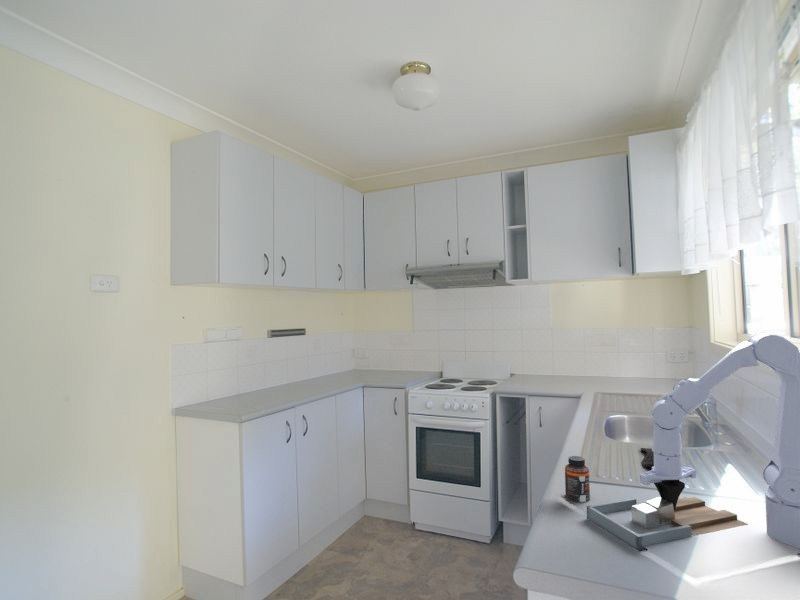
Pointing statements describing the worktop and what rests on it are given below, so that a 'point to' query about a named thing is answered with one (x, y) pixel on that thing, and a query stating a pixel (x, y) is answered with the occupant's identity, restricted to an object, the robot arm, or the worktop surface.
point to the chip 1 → (645, 515)
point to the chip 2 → (663, 509)
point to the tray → (627, 535)
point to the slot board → (702, 517)
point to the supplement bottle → (577, 480)
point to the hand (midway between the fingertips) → (669, 511)
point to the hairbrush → (648, 458)
